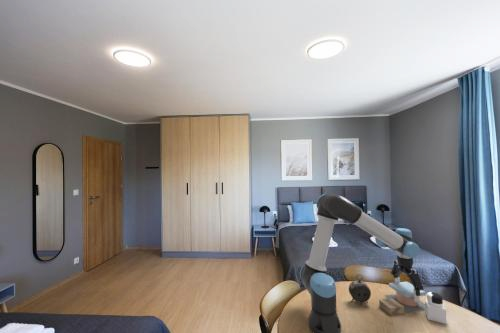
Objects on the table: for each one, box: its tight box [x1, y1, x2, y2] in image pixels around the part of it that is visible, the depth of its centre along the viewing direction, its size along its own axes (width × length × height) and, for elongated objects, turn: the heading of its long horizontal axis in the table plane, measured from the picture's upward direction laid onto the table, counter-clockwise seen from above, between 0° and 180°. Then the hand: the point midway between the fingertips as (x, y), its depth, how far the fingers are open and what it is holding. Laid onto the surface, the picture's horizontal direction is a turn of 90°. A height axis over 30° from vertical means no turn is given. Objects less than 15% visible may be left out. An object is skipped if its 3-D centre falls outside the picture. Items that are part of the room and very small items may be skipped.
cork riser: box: [378, 298, 405, 316], centre depth 117 cm, size 8×8×4 cm
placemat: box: [384, 293, 426, 313], centre depth 124 cm, size 16×16×1 cm
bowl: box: [395, 291, 418, 307], centre depth 124 cm, size 10×10×5 cm
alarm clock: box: [348, 274, 372, 306], centre depth 125 cm, size 11×5×16 cm, turn 83°
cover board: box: [388, 281, 427, 297], centre depth 124 cm, size 12×12×2 cm
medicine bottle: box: [424, 291, 448, 325], centre depth 110 cm, size 7×7×12 cm
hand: (406, 294), depth 124 cm, fingers open, 12 cm apart
